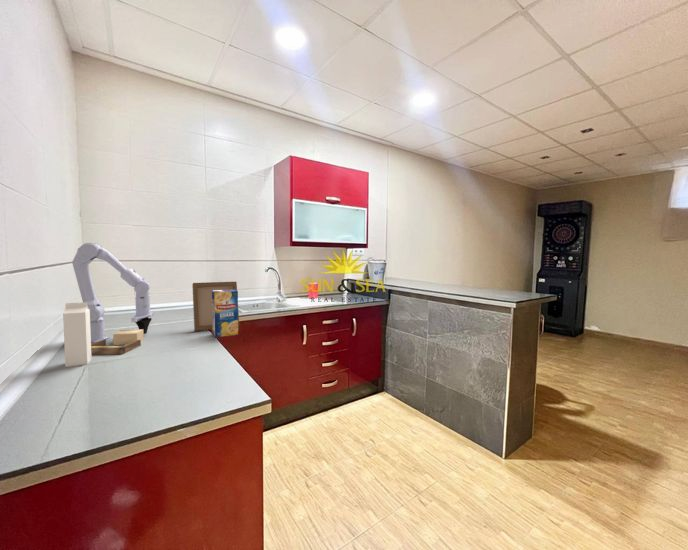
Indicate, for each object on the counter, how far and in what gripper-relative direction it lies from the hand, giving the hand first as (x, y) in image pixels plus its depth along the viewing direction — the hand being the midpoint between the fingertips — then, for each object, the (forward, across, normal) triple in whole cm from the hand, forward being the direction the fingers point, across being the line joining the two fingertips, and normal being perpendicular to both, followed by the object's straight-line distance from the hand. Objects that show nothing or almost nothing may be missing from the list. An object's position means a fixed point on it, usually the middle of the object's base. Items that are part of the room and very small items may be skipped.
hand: (143, 333), depth 144 cm
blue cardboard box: (+1, +2, -38) cm, 38 cm away
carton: (+1, -11, 0) cm, 11 cm away
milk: (+1, -37, +1) cm, 37 cm away
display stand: (+1, -21, 0) cm, 21 cm away
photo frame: (+1, +17, -28) cm, 33 cm away
